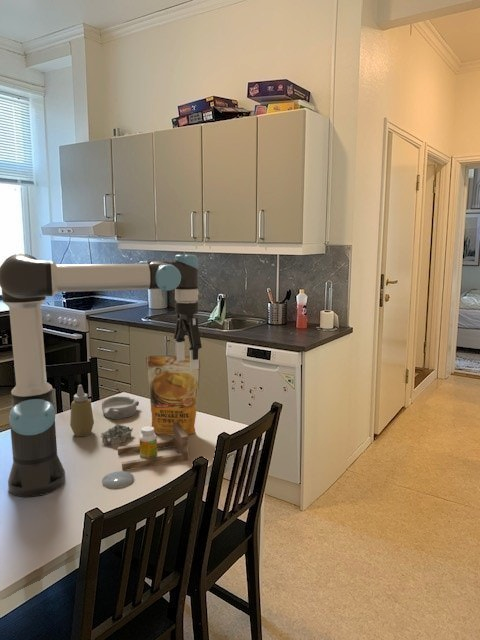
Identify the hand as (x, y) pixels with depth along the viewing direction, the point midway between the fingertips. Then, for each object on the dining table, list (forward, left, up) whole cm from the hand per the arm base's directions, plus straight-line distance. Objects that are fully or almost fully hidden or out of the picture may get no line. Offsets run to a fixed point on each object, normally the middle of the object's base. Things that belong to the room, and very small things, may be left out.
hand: (187, 364), depth 165 cm
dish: (-19, +35, -28) cm, 48 cm away
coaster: (-26, -19, -27) cm, 42 cm away
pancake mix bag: (-3, +10, -28) cm, 29 cm away
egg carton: (-23, +10, -28) cm, 38 cm away
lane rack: (-14, -7, -27) cm, 31 cm away
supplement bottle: (-15, -7, -28) cm, 32 cm away
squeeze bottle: (-34, +19, -28) cm, 48 cm away
